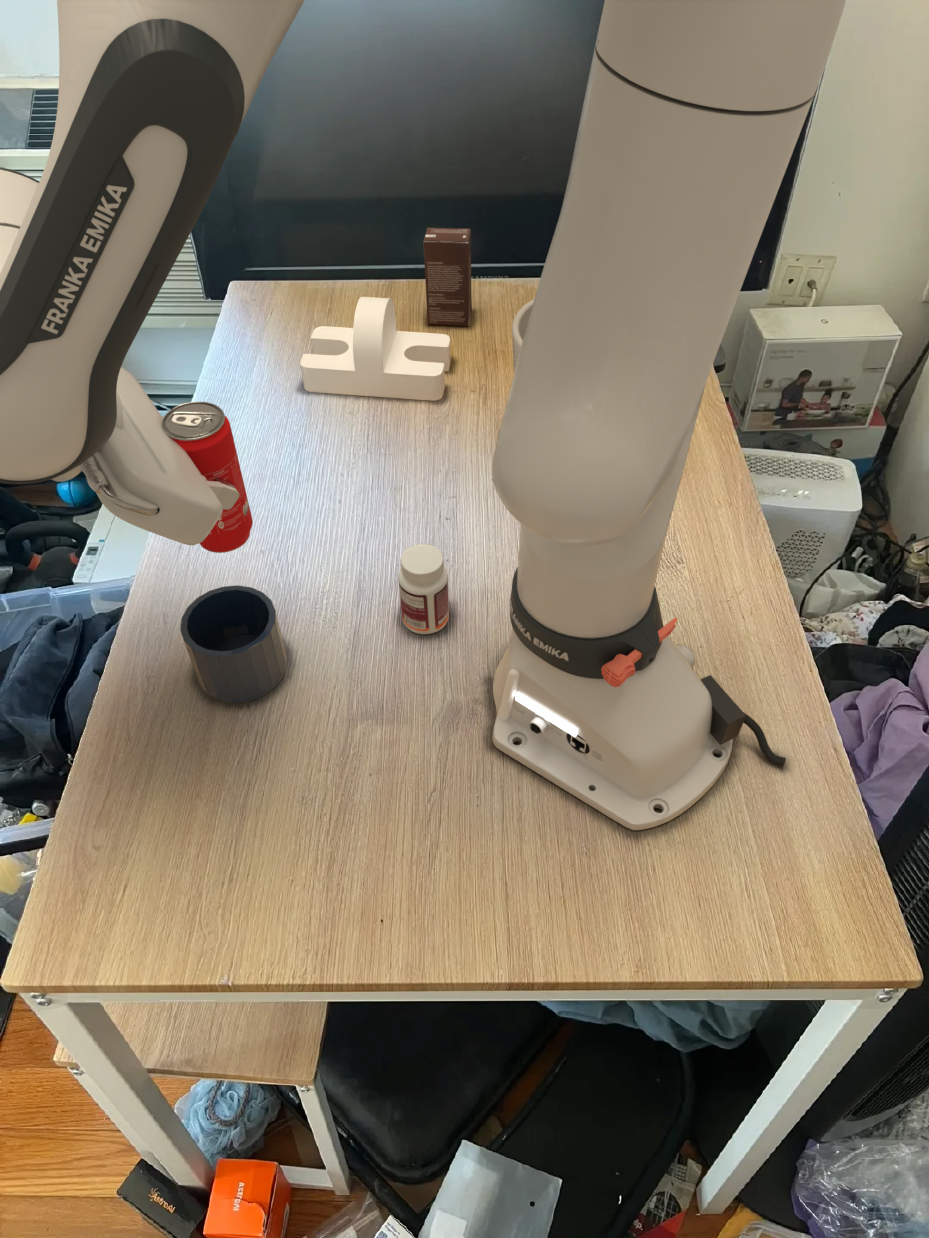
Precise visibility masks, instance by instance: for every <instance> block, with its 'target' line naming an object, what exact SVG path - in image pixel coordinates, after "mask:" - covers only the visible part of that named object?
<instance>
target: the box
mask: <svg viewBox="0 0 929 1238" xmlns="http://www.w3.org/2000/svg"><path fill="white" fill-rule="evenodd" d="M422 242H423V244H422V245H423V262H424V276H425V277H424V279H425V281H424V282H425V299H426V321H427V325H437V326H463V327H465V326H466V327H469V326H470V323H471V316H472V305H473V304H472V229H471V228H451V227H446V228H445V227H427V228H426V231H425V235H424V238H423V241H422Z"/></svg>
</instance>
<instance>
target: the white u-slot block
mask: <svg viewBox="0 0 929 1238" xmlns="http://www.w3.org/2000/svg"><path fill="white" fill-rule="evenodd" d="M395 309H396V307H395V304H394V300H393V299H392V298H390V297H376V296H375V297H374V296H360V297H359V299H358V300H357V303H356V307H355V311H354V317H353V327H344V326H343V327H341V326H330V325H329V326H327V325H322V326H318V327H315V328H314V329H313V331H312V333H311V336H310V344H311V353H303V354H302V357H301V359H300V362H299V364H300V365H299V366H300V369H301V371H300V372H301V377H302V383H303V389H304V390H305V391H306V392H309V393H319V394H320V393H321V394H334V395H345V396H346V395H348V396H349V395H350V396H361V397H362V396H363V397H375V398H390V399H404V400H417V401H418V400H419V401H431V402H432V401H433V402H435V401H439V400H441V399H442V398H443V397H444V394H445V389H446V378H445V377H446V376H445V372H449V371H450V367H451V338H450V337H451V336H450V335H448V334H446V333H434V332H420V331H419V332H418V331H407V330H406V331H404V330H403V331H402V330H397V317H396V310H395Z"/></svg>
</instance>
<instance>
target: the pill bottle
mask: <svg viewBox="0 0 929 1238" xmlns="http://www.w3.org/2000/svg"><path fill="white" fill-rule="evenodd" d="M397 581H398V590H399V591H398V592H399V600H400V610H401V620H402V623H403V624H404V626H405V628H407V629H408V630H409V631H411V632H413V633H415V634H418V635H429V634H434V633H437V632H439V631H441V630H442V629H443V628H444V627H445V626H446V625H447V623H448V621H449V618H450V605H449V603H450V602H449V574H448V571H447V568H446V566H445V561H444V555H443V553H442V551H441V550H440V549H439V548H438V547H436V546H434V545H433V544H428V543H419V544H414V545H412V546H410V547H408V548H406V549H405V550H404V551H403V552H402V554H401V557H400V570H399V572H398V578H397Z"/></svg>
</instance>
